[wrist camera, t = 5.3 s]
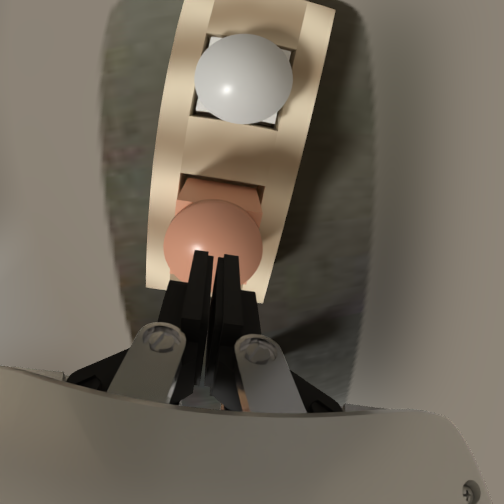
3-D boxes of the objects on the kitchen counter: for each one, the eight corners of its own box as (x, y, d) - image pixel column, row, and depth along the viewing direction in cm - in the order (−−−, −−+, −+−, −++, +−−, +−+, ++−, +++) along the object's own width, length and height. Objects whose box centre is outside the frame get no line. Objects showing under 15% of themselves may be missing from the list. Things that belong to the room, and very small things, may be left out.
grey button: (211, 44, 19) (204, 27, 14) (285, 57, 20) (301, 45, 15) (197, 112, 22) (186, 116, 17) (269, 125, 22) (281, 132, 17)
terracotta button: (183, 171, 21) (167, 196, 16) (262, 184, 22) (272, 212, 17) (174, 242, 24) (160, 284, 18) (247, 253, 24) (251, 297, 19)
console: (197, 1, 18) (190, -19, 13) (316, 24, 19) (335, 9, 15) (157, 257, 29) (146, 287, 24) (257, 272, 30) (262, 303, 26)
